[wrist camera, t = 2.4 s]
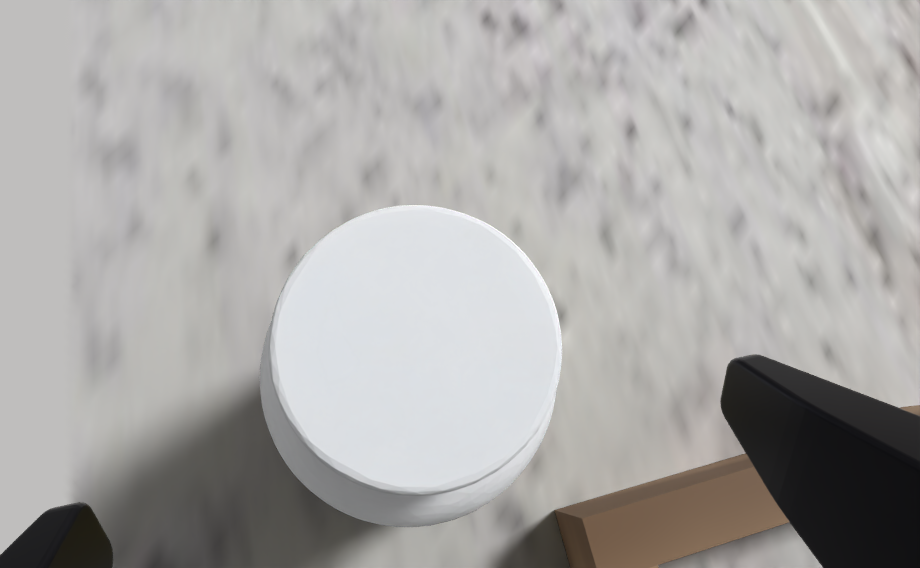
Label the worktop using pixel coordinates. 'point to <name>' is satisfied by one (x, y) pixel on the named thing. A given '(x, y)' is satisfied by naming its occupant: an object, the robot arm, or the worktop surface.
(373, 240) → the supplement bottle
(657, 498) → the brown wooden frame
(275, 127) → the worktop surface
